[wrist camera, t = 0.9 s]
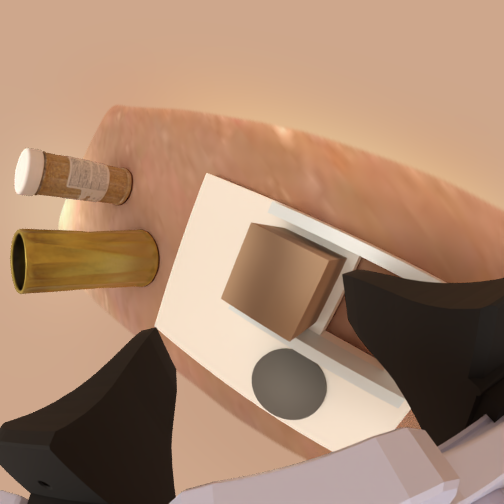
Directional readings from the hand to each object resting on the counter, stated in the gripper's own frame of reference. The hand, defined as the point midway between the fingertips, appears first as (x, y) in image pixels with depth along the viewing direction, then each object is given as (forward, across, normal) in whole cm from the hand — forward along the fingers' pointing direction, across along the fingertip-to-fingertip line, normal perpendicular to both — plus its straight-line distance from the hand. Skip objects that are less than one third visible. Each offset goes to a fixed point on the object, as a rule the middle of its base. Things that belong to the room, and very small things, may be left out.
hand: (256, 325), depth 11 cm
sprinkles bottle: (+26, +11, -7) cm, 29 cm away
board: (+11, -3, +7) cm, 13 cm away
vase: (+22, +10, +1) cm, 24 cm away
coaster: (+8, -1, +11) cm, 13 cm away
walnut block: (+10, -4, +3) cm, 11 cm away
